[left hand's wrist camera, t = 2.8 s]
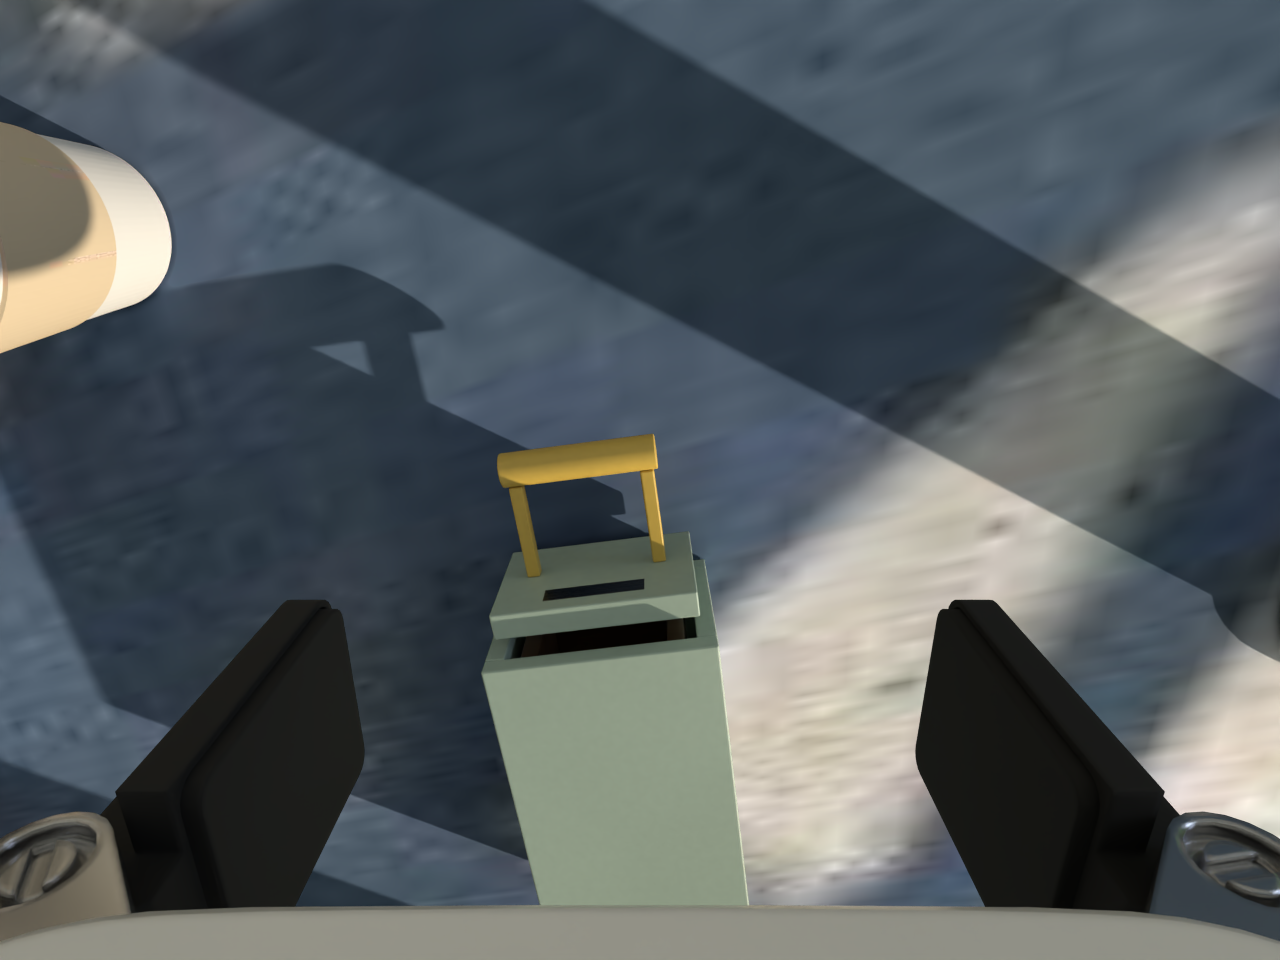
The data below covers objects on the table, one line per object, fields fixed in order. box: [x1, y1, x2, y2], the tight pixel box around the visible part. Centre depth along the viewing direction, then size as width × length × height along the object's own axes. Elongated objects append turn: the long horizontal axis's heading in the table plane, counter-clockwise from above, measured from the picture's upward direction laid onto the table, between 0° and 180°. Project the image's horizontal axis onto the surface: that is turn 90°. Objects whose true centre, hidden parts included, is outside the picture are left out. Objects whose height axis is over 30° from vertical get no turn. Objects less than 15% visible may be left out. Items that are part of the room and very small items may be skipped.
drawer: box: [489, 434, 700, 658], centre depth 36 cm, size 26×9×6 cm, turn 8°
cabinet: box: [481, 559, 749, 905], centre depth 38 cm, size 21×10×8 cm, turn 8°
